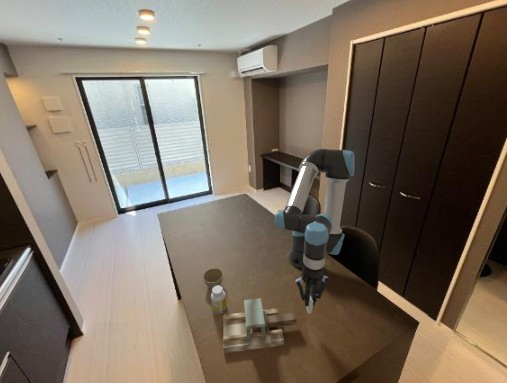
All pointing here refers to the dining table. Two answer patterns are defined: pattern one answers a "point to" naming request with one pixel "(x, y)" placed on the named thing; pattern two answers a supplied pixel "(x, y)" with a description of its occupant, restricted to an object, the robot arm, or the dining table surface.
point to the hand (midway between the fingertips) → (308, 310)
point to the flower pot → (213, 277)
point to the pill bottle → (218, 300)
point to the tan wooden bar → (277, 321)
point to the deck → (249, 329)
